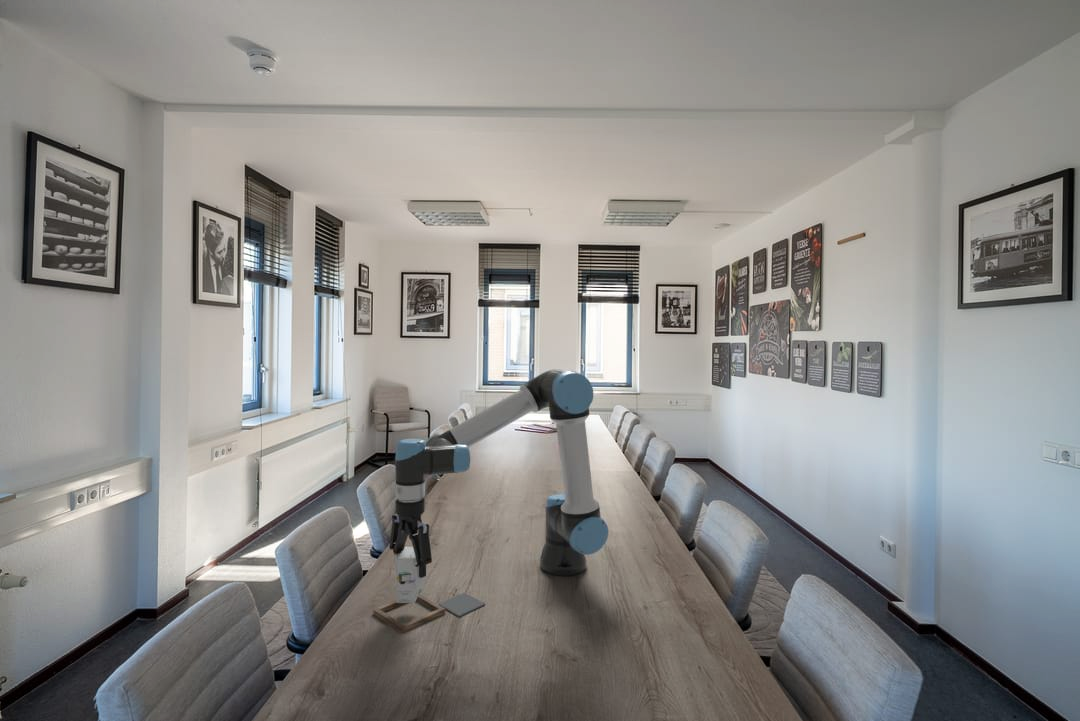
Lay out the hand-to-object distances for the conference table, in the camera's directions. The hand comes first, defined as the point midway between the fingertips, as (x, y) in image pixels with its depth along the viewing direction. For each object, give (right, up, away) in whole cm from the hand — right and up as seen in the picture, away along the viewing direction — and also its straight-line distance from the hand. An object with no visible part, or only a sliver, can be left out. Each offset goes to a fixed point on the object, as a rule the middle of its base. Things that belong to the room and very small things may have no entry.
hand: (409, 582), depth 138 cm
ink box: (0, -4, 0) cm, 4 cm away
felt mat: (+13, -8, +5) cm, 16 cm away
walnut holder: (0, -8, 0) cm, 8 cm away
